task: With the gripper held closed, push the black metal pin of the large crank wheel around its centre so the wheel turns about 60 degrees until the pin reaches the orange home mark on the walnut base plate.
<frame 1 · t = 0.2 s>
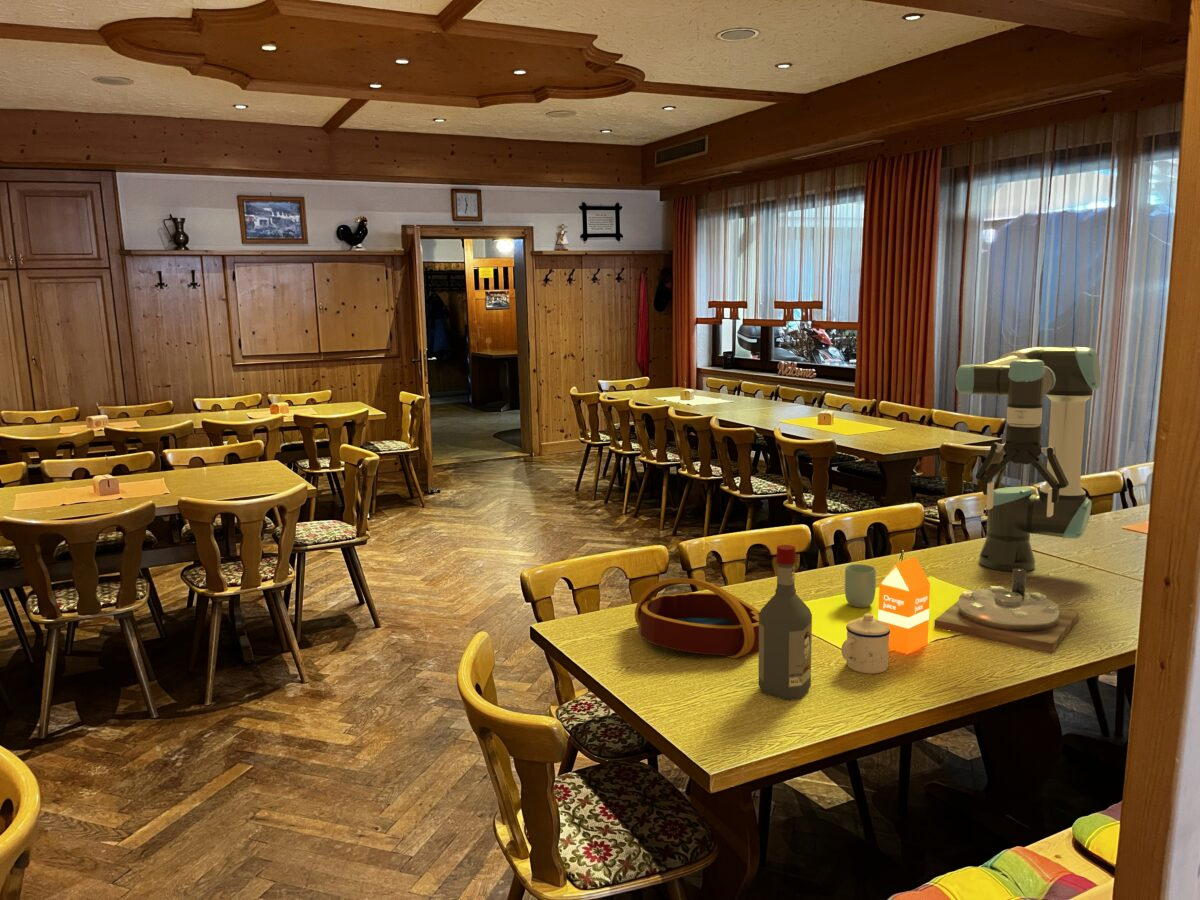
hand: (1019, 512, 210), 27 cm above the table, tool pointing down, fingers open, 13 cm apart
liquor: (784, 690, 177), on the table
teacup with lid: (862, 668, 187), on the table
cup: (859, 606, 227), on the table
decorative basket: (694, 641, 206), on the table
base plate: (1006, 623, 211), on the table
crank wheel: (1008, 596, 210), point 7 cm above the table, hinge at 0.0°
orange juice: (902, 645, 200), on the table
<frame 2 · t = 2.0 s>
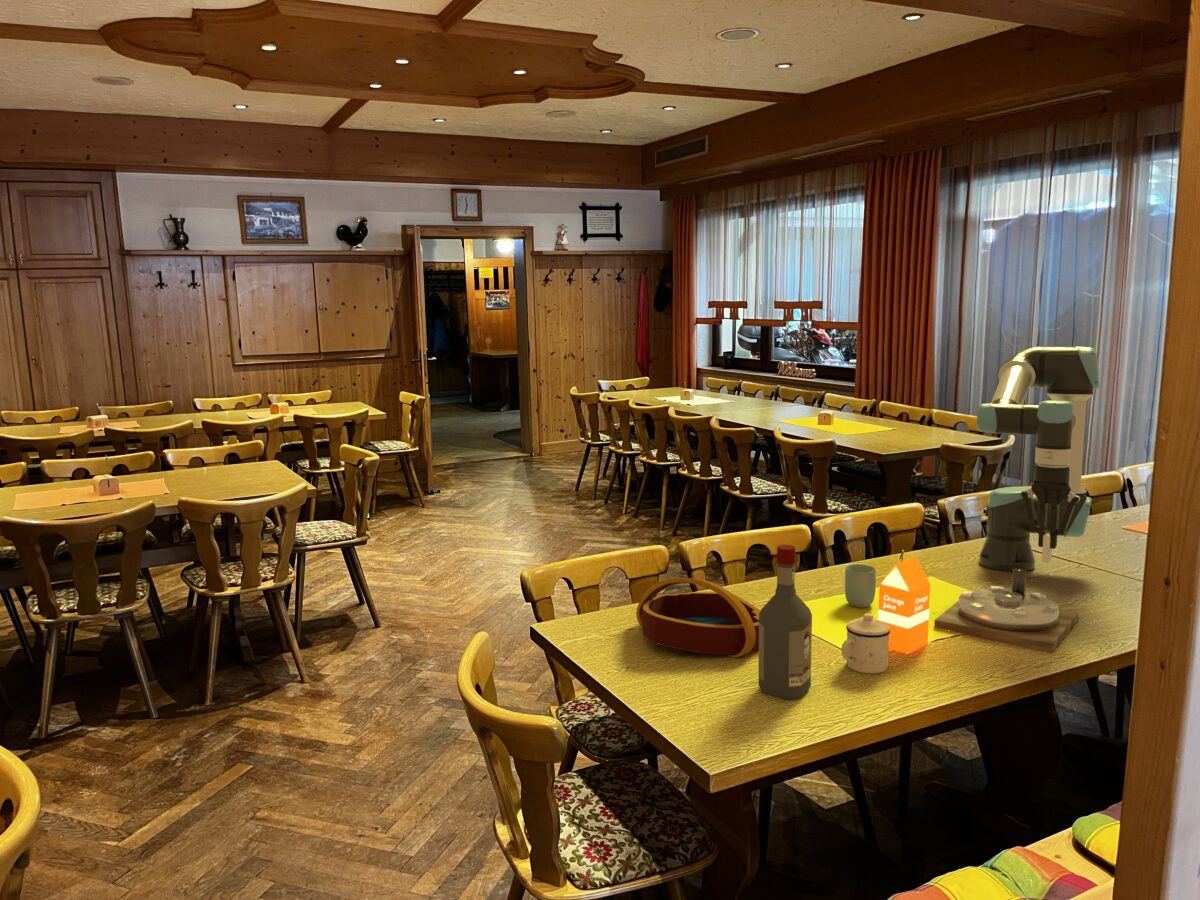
hand: (1046, 560, 212), 15 cm above the table, tool pointing down, fingers closed
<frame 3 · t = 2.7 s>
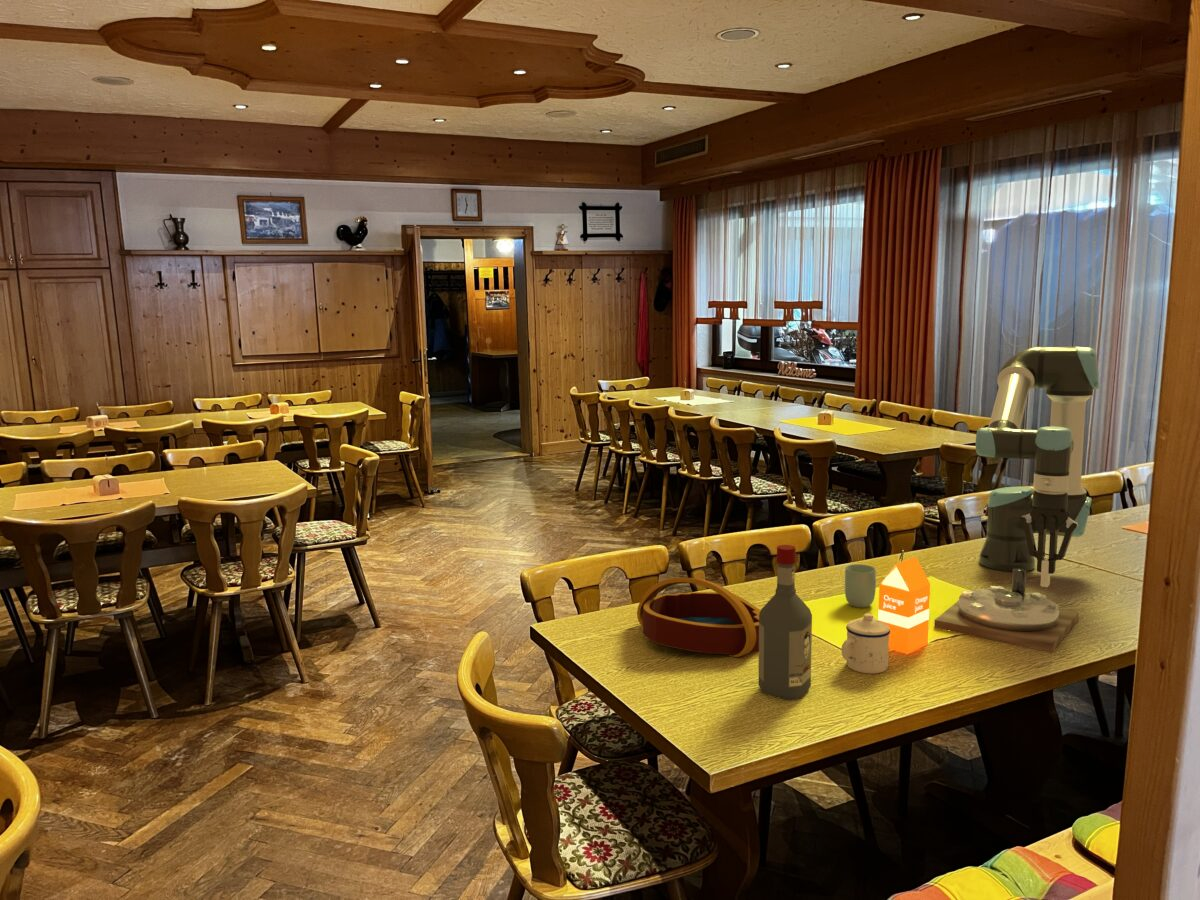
hand: (1045, 585, 213), 8 cm above the table, tool pointing down, fingers closed
nothing on the table moved.
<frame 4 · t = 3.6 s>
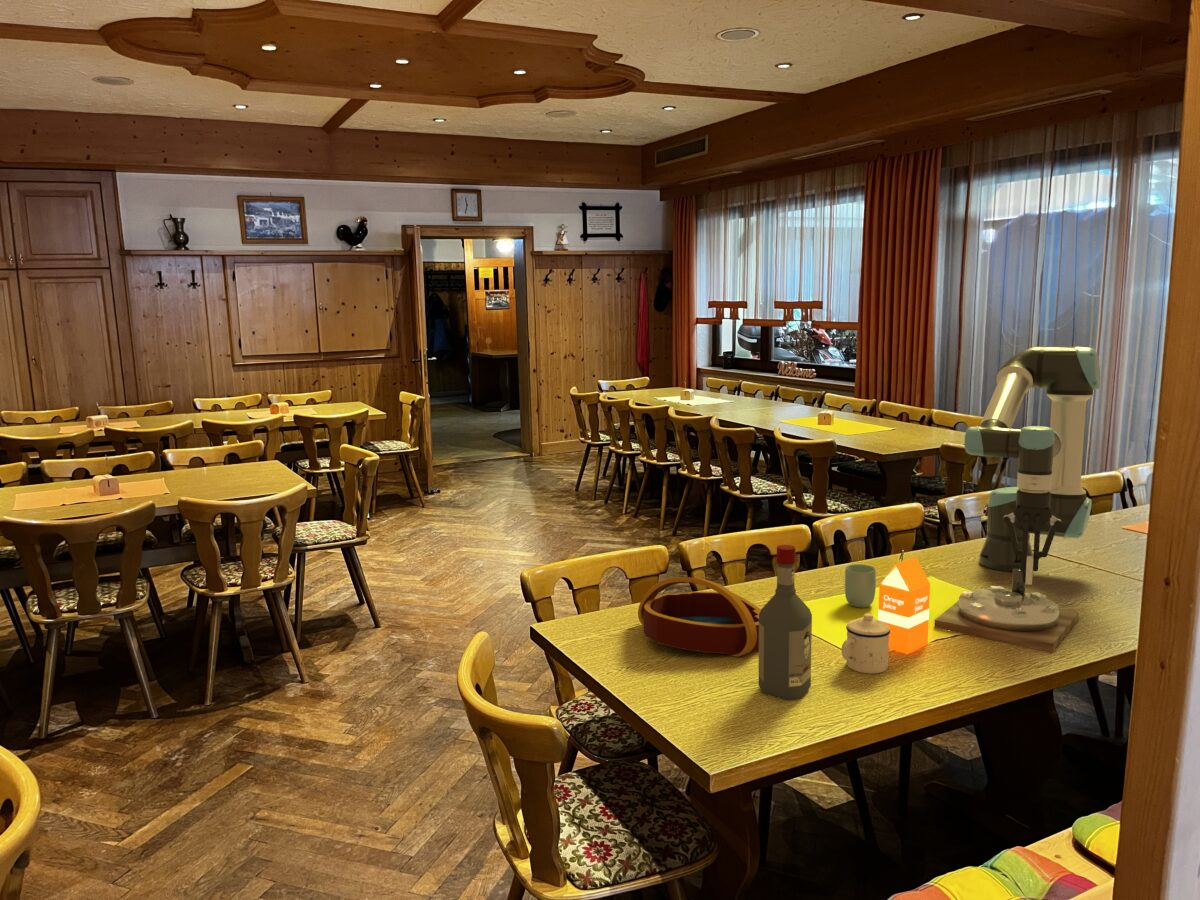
hand: (1028, 582, 216), 8 cm above the table, tool pointing down, fingers closed
crank wheel: (1008, 596, 210), point 7 cm above the table, hinge at 0.0°, touching gripper
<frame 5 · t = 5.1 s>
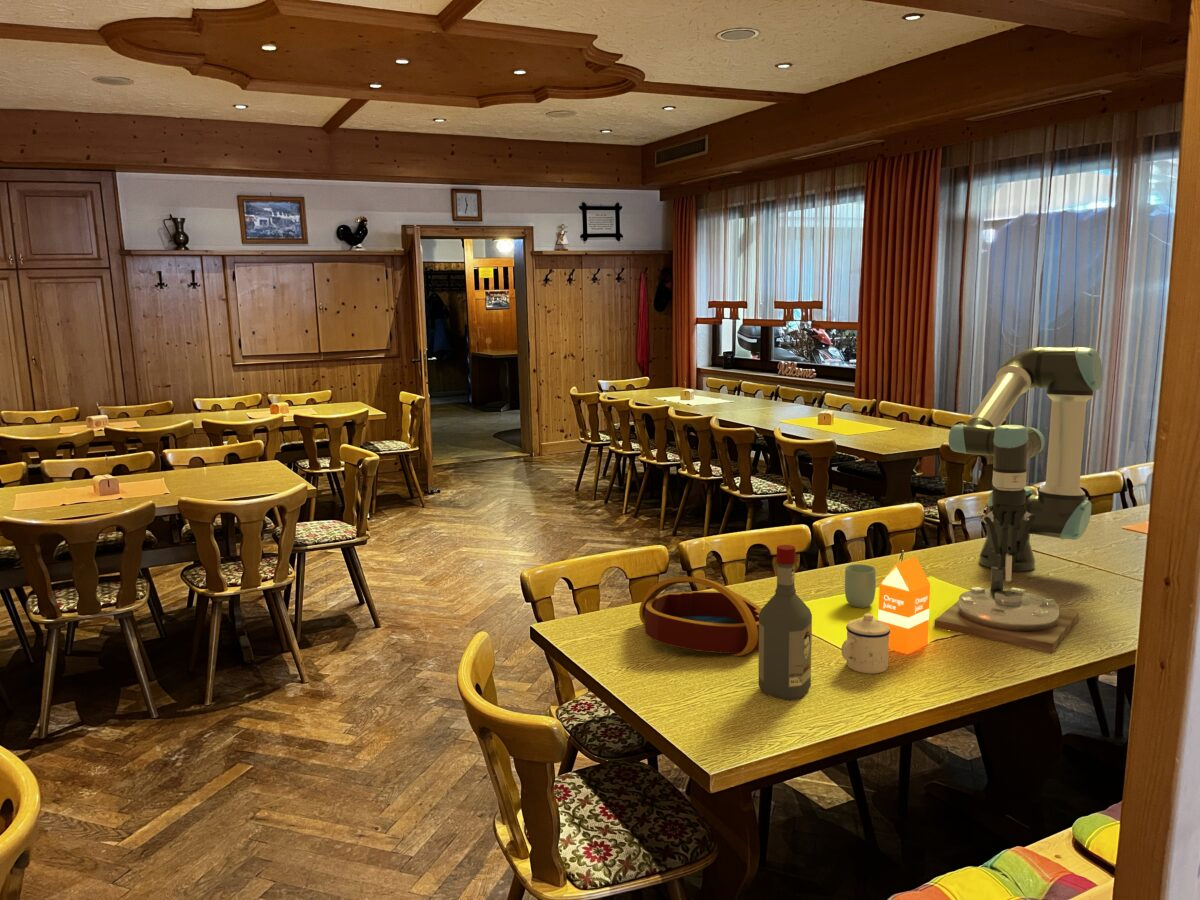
hand: (1006, 579, 219), 8 cm above the table, tool pointing down, fingers closed
crank wheel: (1008, 596, 210), point 7 cm above the table, hinge at 31.7°, touching gripper
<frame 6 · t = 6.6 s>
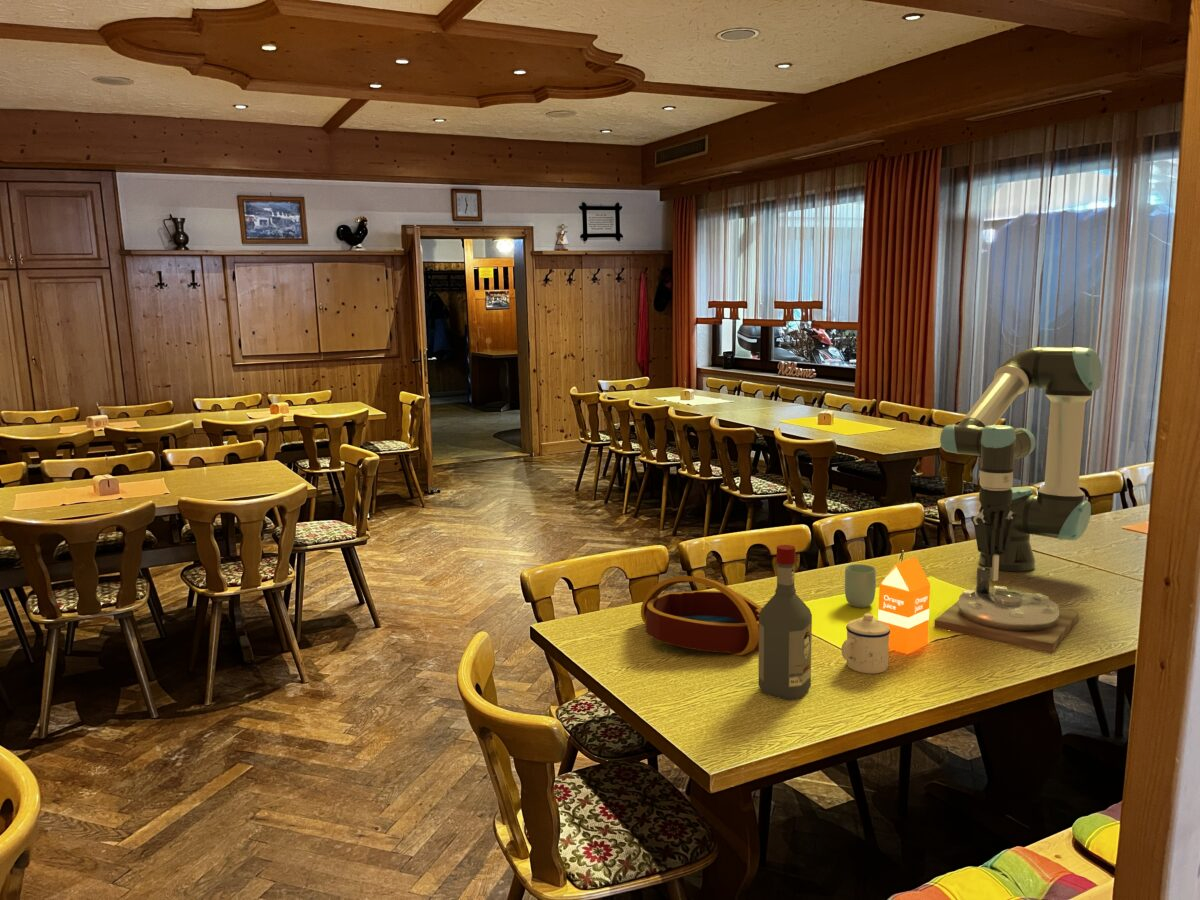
hand: (991, 579, 220), 8 cm above the table, tool pointing down, fingers closed
crank wheel: (1008, 596, 210), point 7 cm above the table, hinge at 55.2°
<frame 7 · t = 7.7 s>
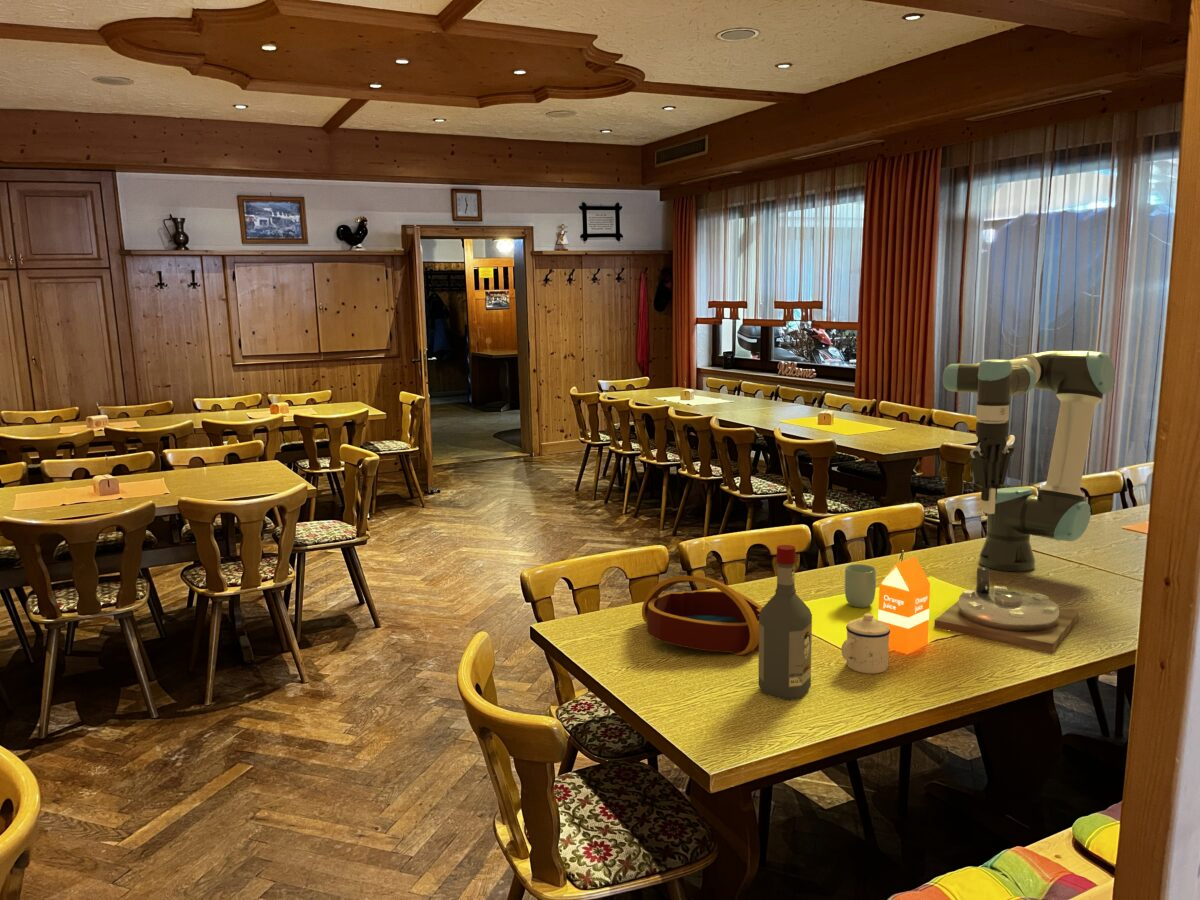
hand: (988, 512, 222), 24 cm above the table, tool pointing down, fingers closed
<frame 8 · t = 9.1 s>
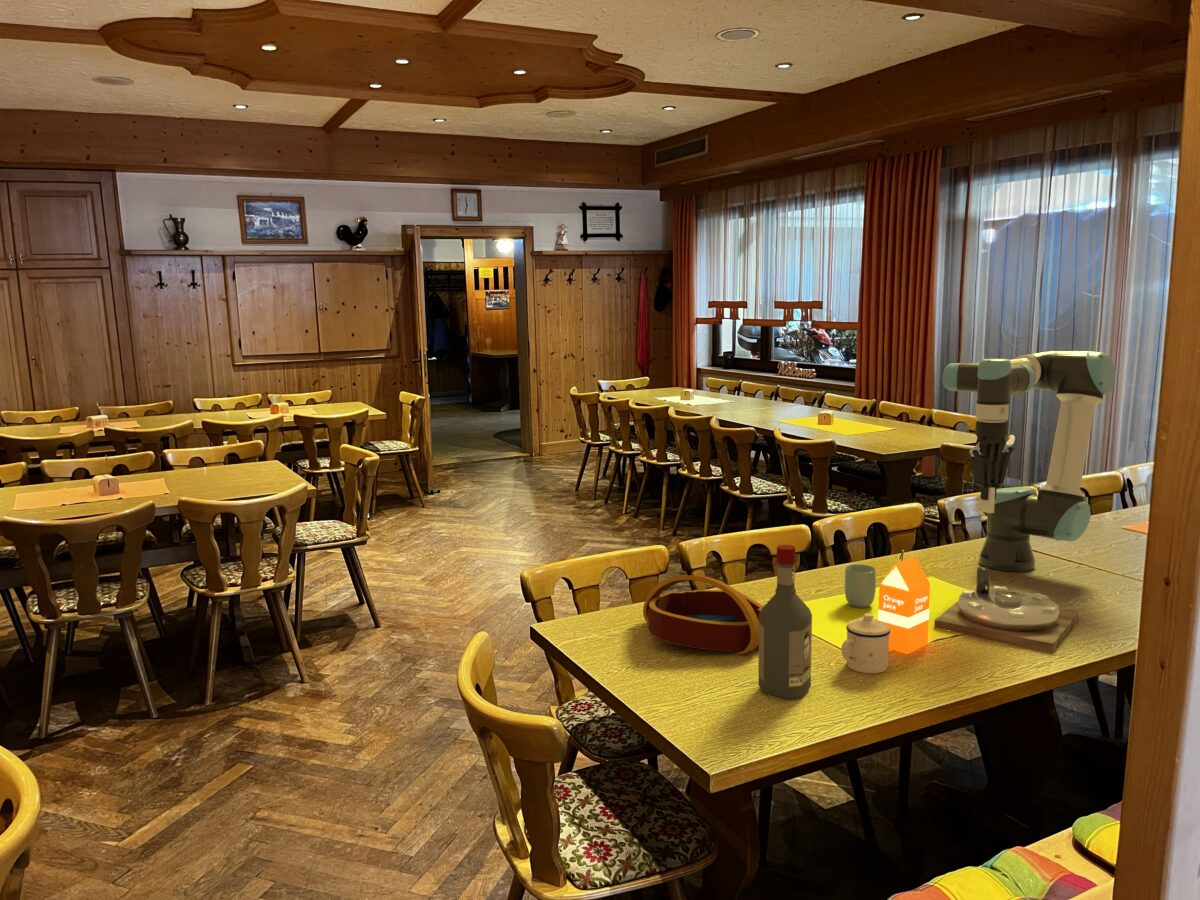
hand: (987, 511, 222), 24 cm above the table, tool pointing down, fingers closed
at the end: crank wheel at +55° (first picture: +0°) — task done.
